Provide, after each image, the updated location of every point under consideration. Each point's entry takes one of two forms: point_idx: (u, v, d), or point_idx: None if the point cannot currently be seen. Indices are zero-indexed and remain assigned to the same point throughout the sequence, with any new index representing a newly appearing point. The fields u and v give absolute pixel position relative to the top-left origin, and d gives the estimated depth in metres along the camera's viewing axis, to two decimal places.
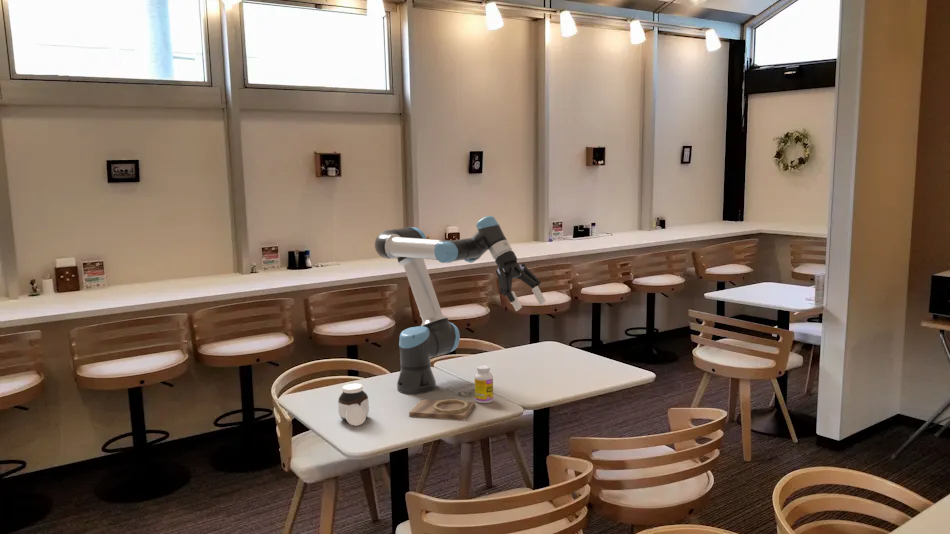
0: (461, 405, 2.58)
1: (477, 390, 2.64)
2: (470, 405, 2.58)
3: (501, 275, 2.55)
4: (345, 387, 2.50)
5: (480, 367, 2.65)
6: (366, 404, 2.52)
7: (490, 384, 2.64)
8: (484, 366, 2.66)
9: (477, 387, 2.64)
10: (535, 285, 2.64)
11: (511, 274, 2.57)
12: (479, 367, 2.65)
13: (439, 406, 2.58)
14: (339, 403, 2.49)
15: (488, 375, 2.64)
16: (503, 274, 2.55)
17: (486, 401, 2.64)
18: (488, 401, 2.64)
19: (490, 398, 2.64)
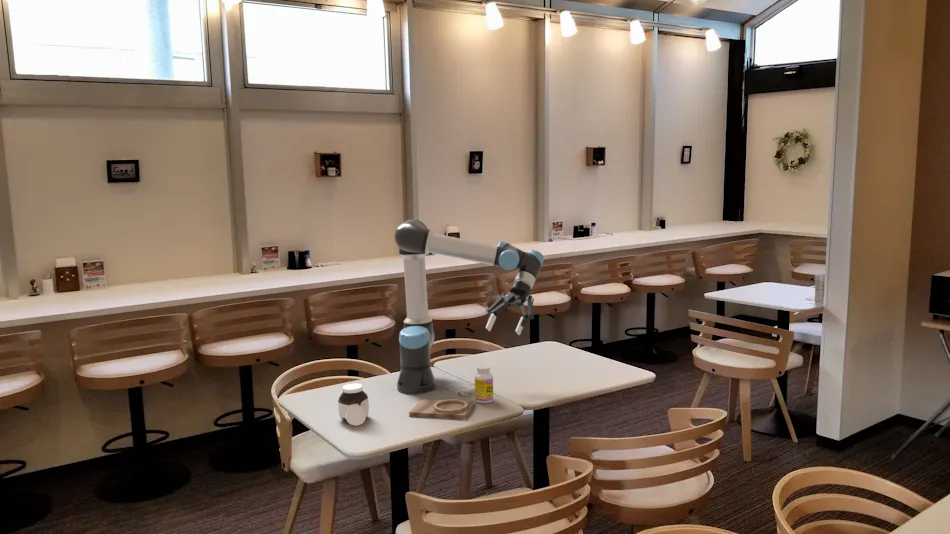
0: (461, 405, 2.58)
1: (477, 390, 2.64)
2: (470, 405, 2.58)
3: (532, 304, 2.77)
4: (345, 387, 2.50)
5: (480, 367, 2.65)
6: (366, 404, 2.52)
7: (490, 384, 2.64)
8: (484, 366, 2.66)
9: (477, 387, 2.64)
10: (494, 314, 2.83)
11: None
12: (479, 367, 2.65)
13: (439, 406, 2.58)
14: (339, 403, 2.49)
15: (488, 375, 2.64)
16: None
17: (486, 401, 2.64)
18: (488, 401, 2.64)
19: (490, 398, 2.64)
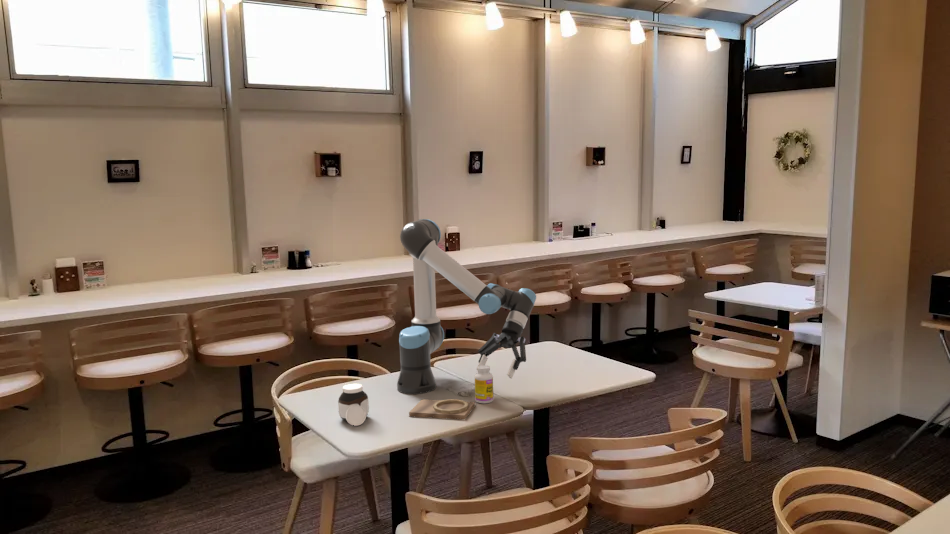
0: (461, 405, 2.58)
1: (477, 390, 2.64)
2: (470, 405, 2.58)
3: (524, 346, 2.70)
4: (345, 387, 2.50)
5: (480, 367, 2.65)
6: (366, 404, 2.52)
7: (490, 384, 2.64)
8: (484, 366, 2.66)
9: (477, 387, 2.64)
10: (485, 355, 2.76)
11: None
12: (479, 367, 2.65)
13: (439, 406, 2.58)
14: (339, 403, 2.49)
15: (488, 375, 2.64)
16: None
17: (486, 401, 2.64)
18: (488, 401, 2.64)
19: (490, 398, 2.64)
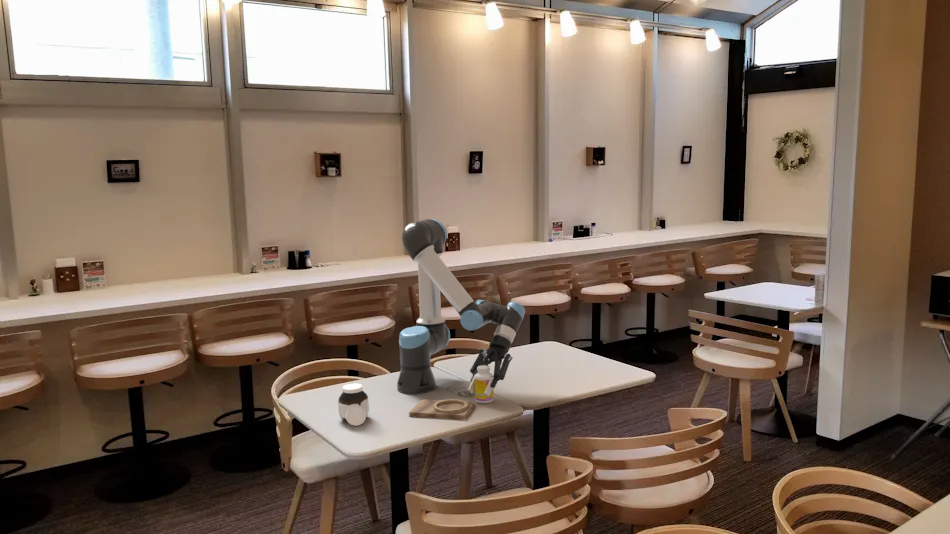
0: (461, 405, 2.58)
1: (477, 390, 2.64)
2: (470, 405, 2.58)
3: (508, 364, 2.67)
4: (345, 387, 2.50)
5: (480, 367, 2.65)
6: (366, 404, 2.52)
7: None
8: (484, 366, 2.66)
9: (477, 387, 2.64)
10: None
11: None
12: (479, 367, 2.65)
13: (439, 406, 2.58)
14: (339, 403, 2.49)
15: (488, 375, 2.64)
16: None
17: (486, 401, 2.64)
18: (488, 401, 2.64)
19: (490, 398, 2.64)
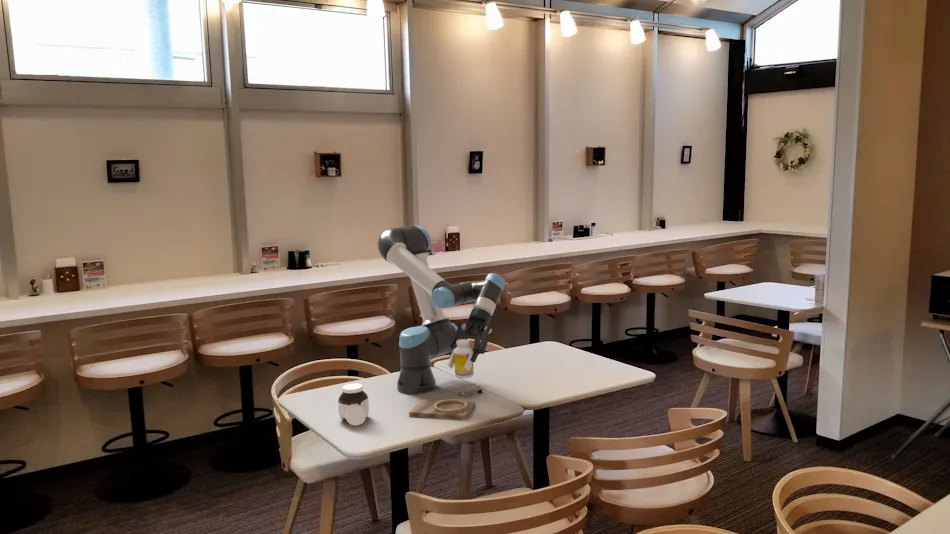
0: (461, 405, 2.58)
1: (457, 365, 2.55)
2: (470, 405, 2.58)
3: (488, 337, 2.57)
4: (345, 387, 2.50)
5: (460, 341, 2.55)
6: (366, 404, 2.52)
7: None
8: (464, 340, 2.56)
9: (457, 362, 2.55)
10: None
11: None
12: (459, 341, 2.55)
13: (439, 406, 2.58)
14: (339, 403, 2.49)
15: (468, 349, 2.54)
16: None
17: (466, 376, 2.55)
18: (468, 376, 2.55)
19: (470, 373, 2.55)
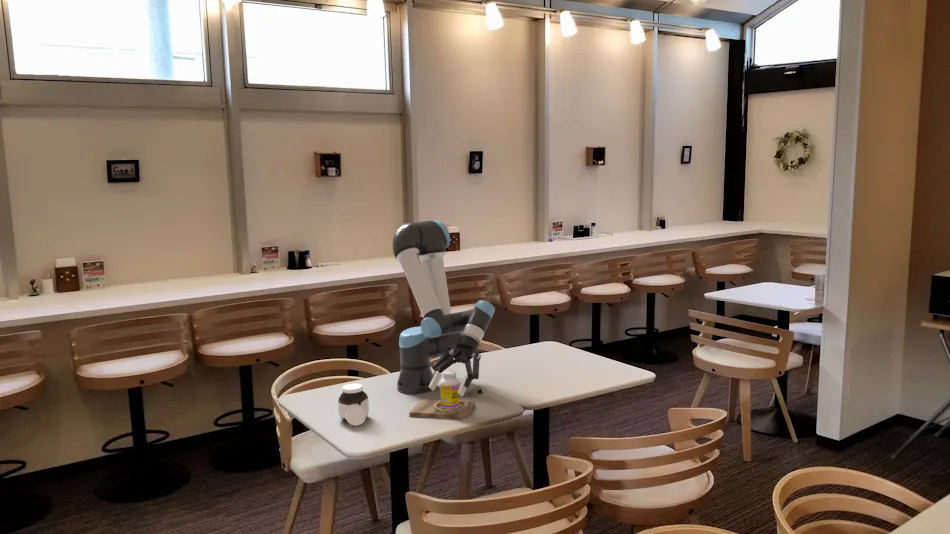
0: (461, 405, 2.58)
1: (443, 396, 2.54)
2: (470, 405, 2.58)
3: (478, 362, 2.56)
4: (345, 387, 2.50)
5: (446, 372, 2.54)
6: (366, 404, 2.52)
7: (456, 390, 2.53)
8: (450, 371, 2.56)
9: (443, 393, 2.54)
10: (439, 372, 2.61)
11: None
12: (445, 372, 2.55)
13: (439, 406, 2.58)
14: (339, 403, 2.49)
15: (454, 380, 2.53)
16: None
17: (452, 407, 2.53)
18: (454, 407, 2.54)
19: (456, 404, 2.54)
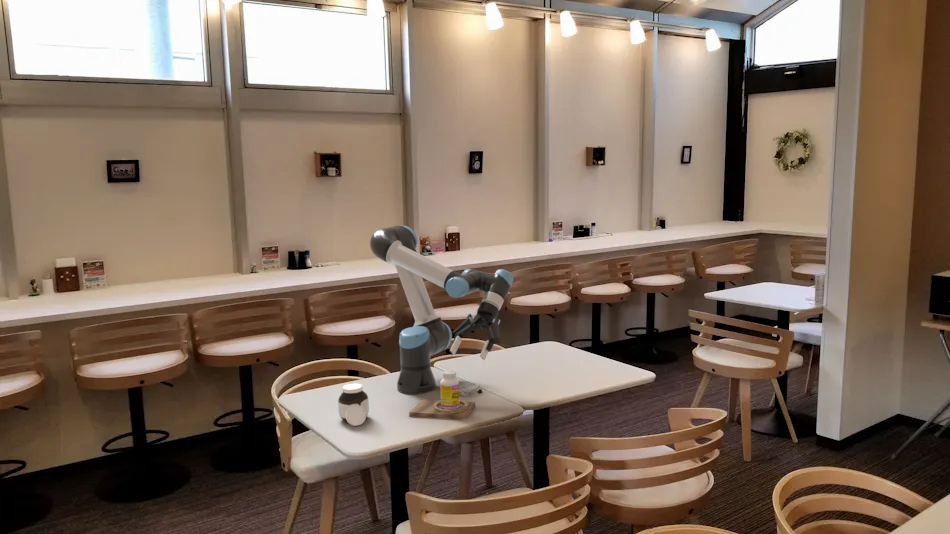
0: (461, 405, 2.58)
1: (443, 396, 2.54)
2: (470, 405, 2.58)
3: (499, 327, 2.65)
4: (345, 387, 2.50)
5: (446, 372, 2.54)
6: (366, 404, 2.52)
7: (456, 390, 2.53)
8: (450, 371, 2.56)
9: (443, 393, 2.54)
10: (460, 337, 2.70)
11: None
12: (445, 372, 2.55)
13: (439, 406, 2.58)
14: (339, 403, 2.49)
15: (454, 380, 2.53)
16: None
17: (452, 407, 2.53)
18: (454, 407, 2.54)
19: (456, 404, 2.54)
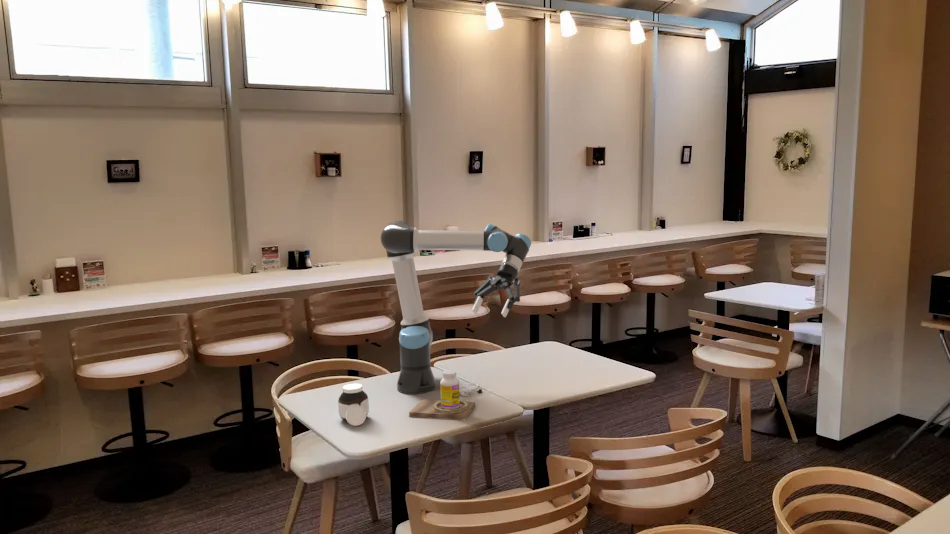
0: (461, 405, 2.58)
1: (443, 396, 2.54)
2: (470, 405, 2.58)
3: (518, 287, 2.78)
4: (345, 387, 2.50)
5: (446, 372, 2.54)
6: (366, 404, 2.52)
7: (456, 390, 2.53)
8: (450, 371, 2.56)
9: (443, 393, 2.54)
10: (481, 297, 2.84)
11: None
12: (445, 372, 2.55)
13: (439, 406, 2.58)
14: (339, 403, 2.49)
15: (454, 380, 2.53)
16: None
17: (452, 407, 2.53)
18: (454, 407, 2.54)
19: (456, 404, 2.54)
